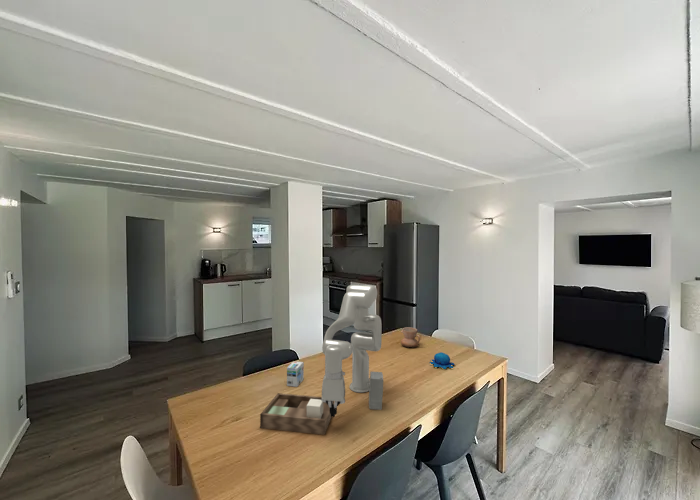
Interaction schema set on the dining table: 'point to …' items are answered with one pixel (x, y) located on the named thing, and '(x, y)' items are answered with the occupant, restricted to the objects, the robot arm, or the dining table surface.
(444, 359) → the plush toy
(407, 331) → the ceramic jug
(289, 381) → the light bulb box
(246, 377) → the dining table surface
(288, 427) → the box
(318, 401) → the cream block
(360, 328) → the robot arm
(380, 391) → the skincare box
